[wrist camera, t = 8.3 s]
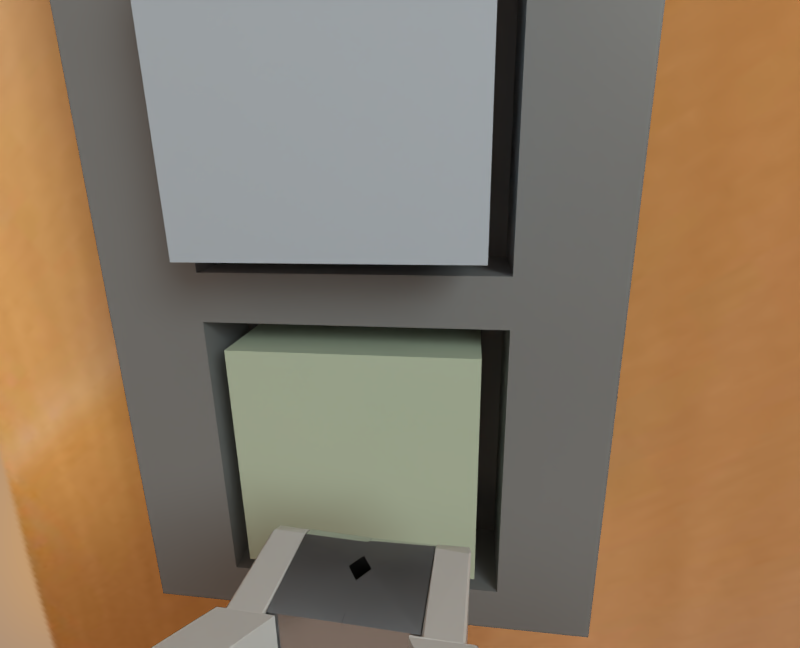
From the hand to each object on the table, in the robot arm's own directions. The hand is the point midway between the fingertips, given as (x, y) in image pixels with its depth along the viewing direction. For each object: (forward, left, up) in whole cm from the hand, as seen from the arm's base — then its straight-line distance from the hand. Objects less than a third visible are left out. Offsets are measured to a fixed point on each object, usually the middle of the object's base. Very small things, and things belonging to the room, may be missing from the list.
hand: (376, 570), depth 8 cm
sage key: (+1, +1, -5) cm, 5 cm away
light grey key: (+6, -4, -3) cm, 8 cm away
